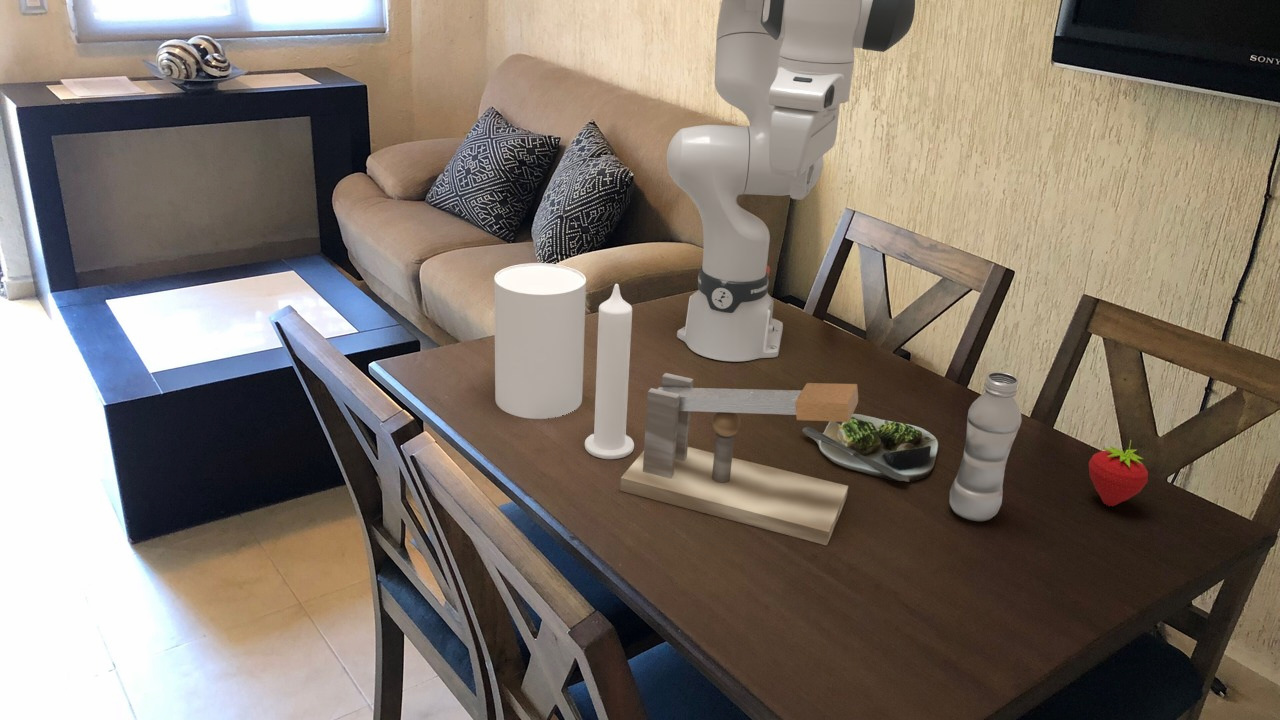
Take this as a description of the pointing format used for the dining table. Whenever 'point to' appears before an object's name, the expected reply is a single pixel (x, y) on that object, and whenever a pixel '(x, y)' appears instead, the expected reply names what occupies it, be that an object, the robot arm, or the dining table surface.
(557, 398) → the canister
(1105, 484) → the strawberry
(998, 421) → the plastic bottle
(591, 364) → the dining table surface
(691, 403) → the press lever
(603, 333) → the candle
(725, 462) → the press base
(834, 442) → the salad plate
